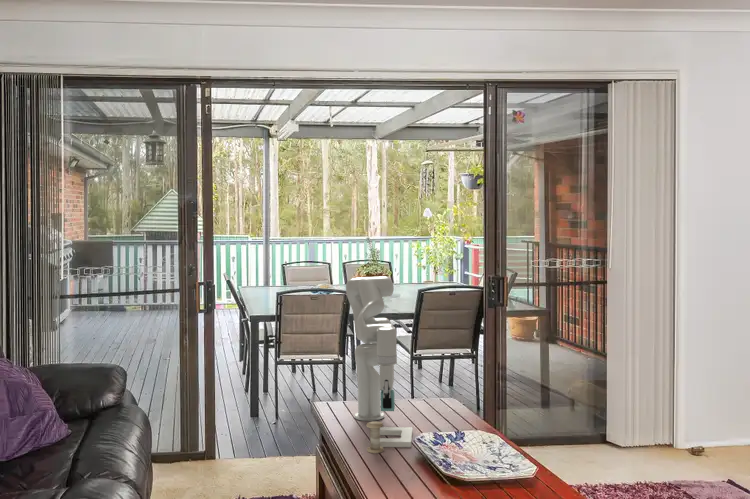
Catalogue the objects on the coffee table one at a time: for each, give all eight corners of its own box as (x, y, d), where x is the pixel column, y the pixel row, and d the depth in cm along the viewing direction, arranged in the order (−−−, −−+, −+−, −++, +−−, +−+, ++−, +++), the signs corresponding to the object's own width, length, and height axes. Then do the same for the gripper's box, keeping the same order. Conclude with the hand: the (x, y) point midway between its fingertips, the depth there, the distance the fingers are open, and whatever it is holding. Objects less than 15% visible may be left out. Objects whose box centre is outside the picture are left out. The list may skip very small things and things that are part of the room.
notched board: (377, 432, 301) (377, 427, 301) (412, 432, 300) (412, 427, 300) (373, 446, 283) (373, 441, 283) (410, 447, 282) (410, 441, 282)
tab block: (381, 407, 294) (381, 389, 293) (394, 407, 294) (394, 389, 293) (380, 411, 289) (380, 393, 288) (394, 411, 289) (393, 393, 288)
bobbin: (367, 447, 283) (367, 421, 282) (383, 447, 282) (383, 421, 281) (366, 453, 277) (365, 426, 276) (382, 453, 276) (382, 426, 275)
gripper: (378, 354, 299) (379, 400, 300) (375, 364, 282) (376, 412, 283) (397, 354, 298) (398, 400, 299) (395, 364, 281) (396, 412, 282)
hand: (387, 405), depth 291 cm, fingers closed on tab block, 4 cm apart
